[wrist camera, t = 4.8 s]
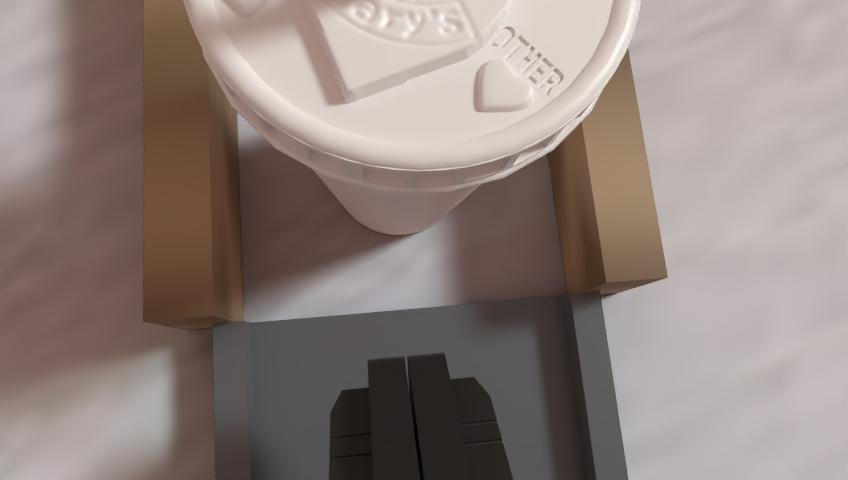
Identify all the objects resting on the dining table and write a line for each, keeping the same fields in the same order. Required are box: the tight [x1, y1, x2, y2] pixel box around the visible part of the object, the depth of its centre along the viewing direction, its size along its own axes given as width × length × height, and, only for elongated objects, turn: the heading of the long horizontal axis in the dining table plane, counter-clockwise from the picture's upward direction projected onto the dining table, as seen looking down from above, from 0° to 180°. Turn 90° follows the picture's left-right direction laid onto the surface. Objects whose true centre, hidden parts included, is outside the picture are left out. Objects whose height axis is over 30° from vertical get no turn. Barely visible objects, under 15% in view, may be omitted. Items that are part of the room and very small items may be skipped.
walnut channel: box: [143, 0, 668, 330], centre depth 16 cm, size 12×12×3 cm
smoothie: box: [184, 0, 641, 235], centre depth 11 cm, size 6×6×14 cm
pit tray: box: [212, 290, 628, 480], centre depth 15 cm, size 7×10×1 cm
